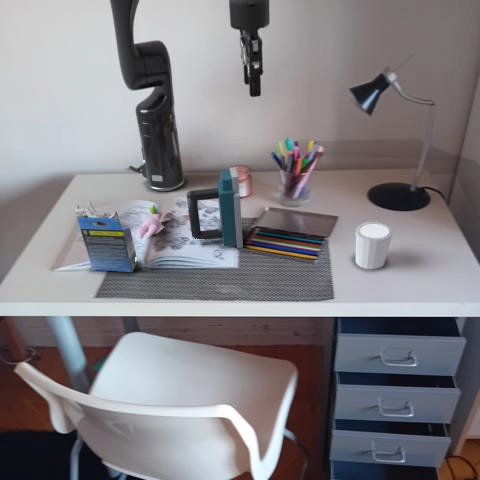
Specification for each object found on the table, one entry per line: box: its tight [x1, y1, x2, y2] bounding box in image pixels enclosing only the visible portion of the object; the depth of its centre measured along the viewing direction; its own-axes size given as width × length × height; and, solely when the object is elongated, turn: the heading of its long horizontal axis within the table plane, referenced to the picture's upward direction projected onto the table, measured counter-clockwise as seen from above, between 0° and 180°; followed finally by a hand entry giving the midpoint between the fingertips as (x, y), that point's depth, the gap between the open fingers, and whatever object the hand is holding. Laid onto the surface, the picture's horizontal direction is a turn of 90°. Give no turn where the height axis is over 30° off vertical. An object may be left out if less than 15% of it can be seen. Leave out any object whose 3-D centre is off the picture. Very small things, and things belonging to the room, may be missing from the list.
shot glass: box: [355, 221, 393, 270], centre depth 97 cm, size 7×7×7 cm
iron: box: [186, 166, 244, 249], centre depth 103 cm, size 15×7×10 cm
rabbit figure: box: [137, 204, 165, 240], centre depth 111 cm, size 6×6×15 cm
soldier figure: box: [74, 200, 119, 219], centre depth 117 cm, size 8×5×12 cm
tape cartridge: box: [76, 216, 139, 273], centre depth 99 cm, size 9×4×12 cm, turn 79°
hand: (252, 90), depth 103 cm, fingers open, 8 cm apart
